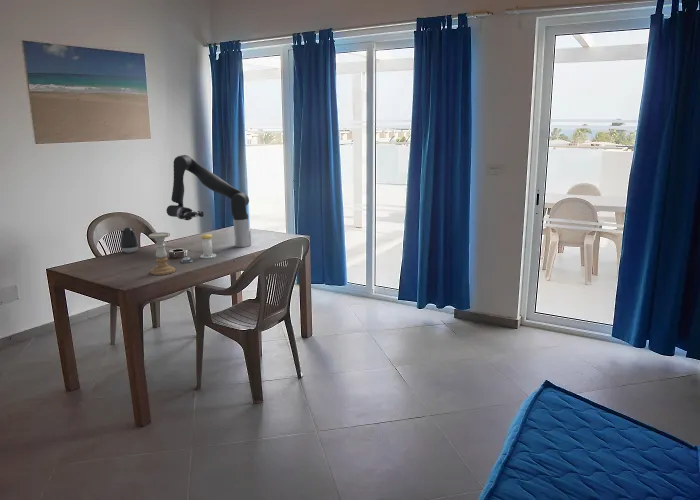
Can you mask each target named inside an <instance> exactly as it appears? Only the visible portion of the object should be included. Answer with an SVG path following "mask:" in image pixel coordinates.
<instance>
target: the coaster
mask: <svg viewBox="0 0 700 500" xmlns="http://www.w3.org/2000/svg"><path fill="white" fill-rule="evenodd" d="M216 257H217V254H216V253H213V255H212V256H207V257H206V256H204V255H203V254H201V255H200V259H212V258H216Z"/></svg>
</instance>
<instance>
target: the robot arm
mask: <svg viewBox="0 0 700 500" xmlns="http://www.w3.org/2000/svg"><path fill="white" fill-rule="evenodd" d="M186 171H188V172H189V173H190V174H191V173H192V174H193V175H194V176H195V177H196V178H197V179H198V180H199V181H200V183H201V184H202V185H203V186H205V187H206V188H208V189H209V190H211V191H213V192H214V193H217V194H220V195H223V196H226V197H227V198H228V199H230V209H231V214H232V215H231V216H232V217H233V220H232V221H233V232H234V235H233V237H234V246H235V247H236V248H246V247H249V246H252V235H251V234H252V233H251V230H250V226H249V225H250V224H249V223H250V222H249V214H248V213H247V206H248V204H249V203H250V198H249V196H248V195H247V194H246V193H244V192H243V191H241V190H240V189H237V188H235V187H234V186H232V185H230V184H229V183H228V182H226V181H225V180H224V179H222V178H220V176H218V175H216V174H215V173H213V172H211V171H210V170H209V169H207V168H205V167H203V165H201V164H199V163H198V162H197V161H196V160H195V159H193V158H192V157H191V156H189V155H186V154H182V155H177V156H175V158H174V159H173V183H172V184H173V185H172V193H171V198H170V200H171V202H173V203H176V204H177V205H174V204H173V205H172V204H170V205H168V206H167V207H166V214H167V215H168V216H169V217H172V218H177V219H180V220H184V221H190V220H192V219H194V218H203V217H204V214H205V213H204V211H201V210H198V211H194V210H192V208H190V207H186V206H184V196H185V184H184V183H185V182H184V177H185V172H186Z"/></svg>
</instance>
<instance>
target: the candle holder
mask: <svg viewBox="0 0 700 500" xmlns="http://www.w3.org/2000/svg"><path fill="white" fill-rule="evenodd" d="M170 236H171V233H169V232H153V233H150V234H148V238H150V239H154V240H155V242H156V244H155V245H154V247H155V248H156V253H155V257H157V258H156V259H155V261H156V262H157V265H156V266H154V267H153V268H152V269H151V270H150V274H151V275H154V276H164V275H165V276H166V275H170V274H173V273H175V272H176V268H175V267H174V266H171V265H169V264H168V262H167V261H169V258H168V257H167V255H168V253H167V251H166V243H165V240H166V239H167V238H168V237H170Z"/></svg>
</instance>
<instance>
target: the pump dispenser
mask: <svg viewBox="0 0 700 500" xmlns="http://www.w3.org/2000/svg"><path fill="white" fill-rule="evenodd" d="M120 233H121V235H120V239H119V241H120V242H119V245H120V246H119V247H120V249H121V250H122V252H123V253H126V254H129V253H130V254H131V253H135V252H136V251H137V250H138V248H139V241H138V238H137V235H136V233H135V231H134V230H133V228H131V227H124V229H120Z"/></svg>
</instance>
